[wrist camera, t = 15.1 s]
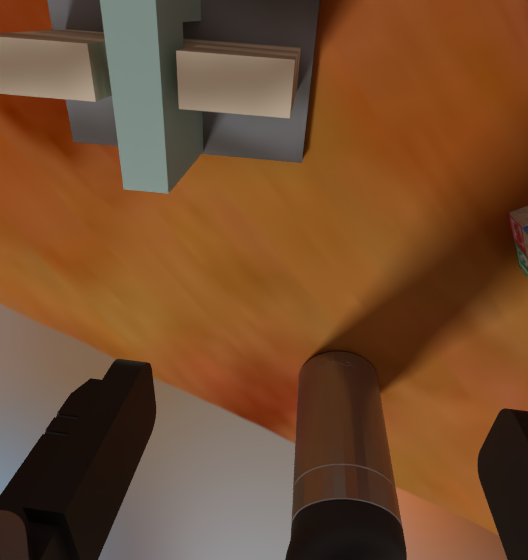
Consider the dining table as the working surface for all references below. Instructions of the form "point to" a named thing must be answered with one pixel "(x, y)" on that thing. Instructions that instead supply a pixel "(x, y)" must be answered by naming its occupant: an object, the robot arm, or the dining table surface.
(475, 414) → the dining table surface
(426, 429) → the dining table surface
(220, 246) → the dining table surface
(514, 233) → the stack of blocks
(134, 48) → the sage crossbar
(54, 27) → the stand
